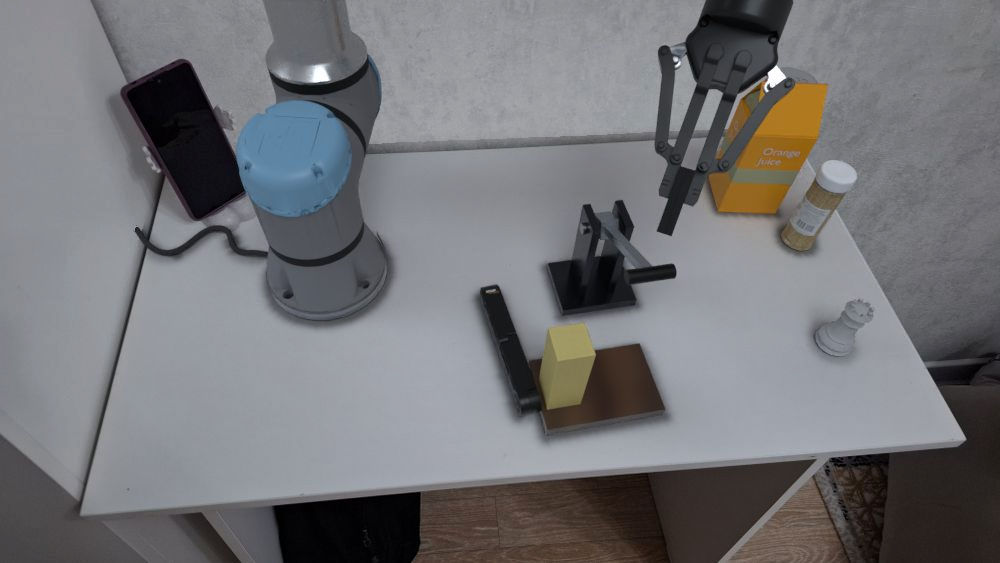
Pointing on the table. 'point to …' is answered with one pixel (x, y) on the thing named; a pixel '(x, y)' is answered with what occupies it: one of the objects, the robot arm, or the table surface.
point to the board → (606, 392)
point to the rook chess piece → (844, 328)
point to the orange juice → (769, 150)
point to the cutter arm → (632, 253)
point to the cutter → (593, 268)
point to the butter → (566, 365)
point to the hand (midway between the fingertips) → (663, 233)
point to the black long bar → (510, 351)
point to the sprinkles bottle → (818, 204)
